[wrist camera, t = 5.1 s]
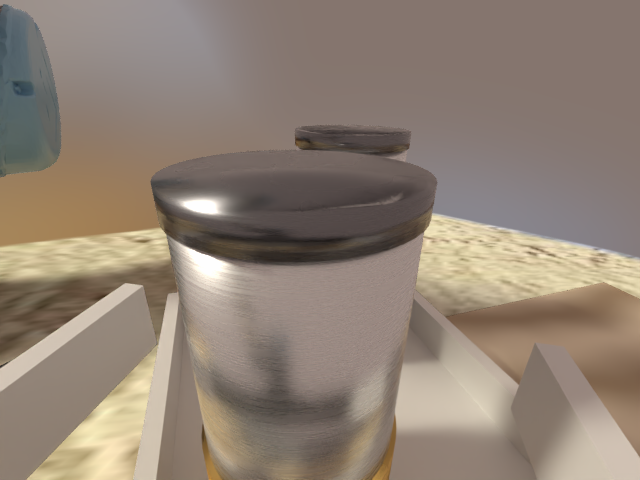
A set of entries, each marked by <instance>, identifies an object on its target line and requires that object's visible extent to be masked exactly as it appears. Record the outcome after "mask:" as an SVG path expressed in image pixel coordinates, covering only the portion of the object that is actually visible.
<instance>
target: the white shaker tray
mask: <svg viewBox="0 0 640 480" xmlns="http://www.w3.org/2000/svg"><path fill="white" fill-rule="evenodd" d="M518 387H519V385H518V384H517V383H516V382H515V381H514V380H513V379H512V378H511V377H510V376H508V375H507V374H506V373H505V372H504V371H503V370H502V369H501V368H500V367H499V366H498V365H497V364H495V363H494V362H493V361H492V360H491V359H490V358H489V357H488V356H487V355H486V354H485V353H484V352H482V351H481V350H480V349H479V348H478V347H477V346H476V345H475V344H474V343H473V342H472V341H471V340H469V339H468V338H467V337H466V336H465V335H464V334H463V333H462V332H461V331H460V330H459V329H458V328H456V327H455V326H454V325H453V324H452V323H451V322H450V321H449V320H448V319H447V318H446V317H445V316H443V315H442V314H441V313H440V312H439V311H438V310H437V309H436V308H435V307H434V306H433V305H432V304H430V303H429V302H428V301H427V300H426V299H425V298H424V297H423V296H422V295H421V294H420V293H419V292H417V291H416V290H415V291H414V297H413V304H412V310H411V316H410V322H409V328H408V335H407V341H406V347H405V353H404V360H403V366H402V372H401V378H400V384H399V391H398V397H397V403H396V409H395V416H396V441H395V447H394V453H393V459H392V465H391V471H390V476H389V480H537V478H536V475H535V472H534V470H533V467H532V464H531V462H530V459H529V456H528V453H527V451H526V448H525V445H524V443H523V440H522V437H521V435H520V432H519V429H518V427H517V424H516V421H515V419H514V416H513V413H512V411H511V406H512V403H513V400H514V397H515V395H516V392H517V389H518ZM202 424H203V420H202V415H201V410H200V404H199V399H198V394H197V389H196V384H195V379H194V374H193V368H192V363H191V358H190V353H189V348H188V343H187V337H186V332H185V327H184V322H183V317H182V312H181V307H180V301H179V296H178V292H176V293H170V294H168V296H167V302H166V307H165V312H164V318H163V323H162V328H161V334H160V339H159V344H158V350H157V355H156V361H155V366H154V371H153V377H152V382H151V387H150V393H149V398H148V403H147V409H146V414H145V419H144V425H143V430H142V436H141V441H140V446H139V452H138V457H137V462H136V468H135V473H134V478H133V480H209V478H208V474H207V469H206V464H205V459H204V454H203V449H202Z"/></svg>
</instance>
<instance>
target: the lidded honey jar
mask: <svg viewBox="0 0 640 480" xmlns="http://www.w3.org/2000/svg"><path fill="white" fill-rule="evenodd" d="M151 186H152V191H153V196H154V201H155V206H156V211H157V216H158V221H159V224H160V227H161V228H162V230H163V231H164V232H165V233H166V234H167V239H168V245H169V250H170V255H171V260H172V265H173V270H174V276H175V281H176V286H177V291H178V296H179V301H180V307H181V312H182V317H183V322H184V327H185V332H186V337H187V343H188V348H189V353H190V358H191V363H192V368H193V374H194V379H195V384H196V389H197V394H198V399H199V404H200V410H201V415H202V420H203V424H202V449H203V454H204V459H205V464H206V469H207V474H208V478H209V480H389V476H390V471H391V465H392V459H393V453H394V447H395V441H396V416H395V409H396V403H397V397H398V391H399V384H400V378H401V372H402V366H403V360H404V353H405V347H406V341H407V335H408V328H409V322H410V316H411V310H412V304H413V297H414V291H415V285H416V279H417V273H418V266H419V260H420V254H421V248H422V242H423V235H424V231H425V230H426V229H427V227H428V226H429V224H430V221H431V216H432V210H433V204H434V198H435V193H436V186H437V180H436V178H435V176H434V175H433V174H432V173H430V172H429V171H427V170H425V169H423V168H421V167H419V166H416V165H413V164H410V163H407V162H404V161H399V160H395V159H391V158H385V157H380V156H374V155H366V154H358V153H349V152H337V151H318V150H269V151H250V152H238V153H228V154H220V155H213V156H207V157H201V158H196V159H192V160H187V161H184V162H180V163H177V164H174V165H171V166H168V167H166V168H164V169H162V170H160V171H158V172H157V173H156V174H155V175H154V176H153V177H152V179H151Z"/></svg>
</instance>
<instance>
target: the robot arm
mask: <svg viewBox="0 0 640 480" xmlns="http://www.w3.org/2000/svg"><path fill="white" fill-rule="evenodd" d="M60 149H61V122H60V113H59V105H58V98H57V93H56V87H55V82H54V77H53V73H52V68H51V64H50V60H49V56H48V53H47V50H46V46H45V43H44V40H43V37H42V35H41V32H40V30H39V28H38V26H37V24H36V23H35V22H34V20H33V18H32V17H31V16H30V15H29V14H28V13H26V12H24V11H22V10H18V9H15V8H13V7H12V6H8V5H5V4H4V5H3V6H0V177H4V176H6V175H7V174H16V173H24V172H33V171H41V170H44V169H46V168H48V167H50V166H51V165H52V164H54V163H55V162H56V161H57V159H58V157H59V154H60ZM156 345H157V340H156V336H155V332H154V328H153V323H152V319H151V315H150V311H149V307H148V303H147V299H146V295H145V291H144V286H143V285H136V284H129V283H125V284H123V285H122V286H120V287H119V288H117V289H116V290H114V291H113V292H111V293H110V294H109V295H107V296H106V297H104V298H103V299H101V300H100V301H98V302H97V303H95V304H94V305H92V306H91V307H89V308H88V309H87V310H85V311H84V312H82V313H81V314H79V315H78V316H76V317H75V318H73V319H72V320H70V321H69V322H68V323H66V324H65V325H63V326H62V327H60V328H59V329H57V330H56V331H54V332H53V333H51V334H50V335H49V336H47V337H46V338H44V339H43V340H41V341H40V342H38V343H37V344H35V345H34V346H32V347H31V348H30V349H28V350H27V351H25V352H24V353H22V354H21V355H19V356H18V357H16V358H15V359H13V360H11V361H9V362H7V363H5V364H3V365H1V366H0V480H26V479H27V478H28V477H29V476H30V475H31V474H32V473H33V472H34V471H35V470H36V469H37V468H38V467H39V466H40V465H41V464H42V463H43V462H44V461H45V460H46V459H47V457H48V456H49V455H50V454H51V453H52V452H53V451H54V450H55V449H56V448H57V447H58V446H59V445H60V444H61V443H62V442H63V441H64V440H65V439H66V438H67V437H68V436H69V435H70V434H71V433H72V432H73V431H74V430H75V429H76V428H77V426H78V425H79V424H80V423H81V422H82V421H83V420H84V419H85V418H86V417H87V416H88V415H89V414H90V413H91V412H92V411H93V410H94V409H95V408H96V407H97V406H98V405H99V404H100V403H101V402H102V401H103V400H104V399H105V398H106V397H107V396H108V394H109V393H110V392H111V391H112V390H113V389H114V388H115V387H116V386H117V385H118V384H119V383H120V382H121V381H122V380H123V379H124V378H125V377H126V376H127V375H128V374H129V373H130V372H131V371H132V370H133V369H134V368H135V367H136V366H137V365H138V363H139V362H140V361H141V360H142V359H143V358H144V357H145V356H146V355H147V354H148V353H149V352H150V351H151V350H152V349H153V348H154V347H155V346H156ZM511 411H512V413H513V416H514V419H515V421H516V424H517V427H518V429H519V432H520V435H521V437H522V440H523V443H524V445H525V448H526V451H527V453H528V456H529V459H530V462H531V464H532V467H533V470H534V472H535V475H536V478H537V480H640V457H639V456H638V454H637V453H636V451H635V450H634V448H633V447H632V445H631V444H630V443H629V441H628V440H627V438H626V437H625V435H624V434H623V432H622V431H621V429H620V428H619V426H618V425H617V423H616V422H615V420H614V419H613V418H612V416H611V415H610V413H609V412H608V410H607V409H606V407H605V406H604V404H603V403H602V401H601V400H600V398H599V397H598V396H597V394H596V393H595V391H594V390H593V388H592V387H591V385H590V384H589V382H588V381H587V379H586V378H585V376H584V375H583V374H582V372H581V371H580V369H579V368H578V366H577V365H576V363H575V362H574V360H573V359H572V357H571V356H570V354H569V353H568V352H567V350H566V349H565V347H563V346H556V345H549V344H542V343H536V342H535V344H534V346H533V349H532V352H531V354H530V357H529V360H528V363H527V365H526V368H525V371H524V373H523V376H522V379H521V381H520V384H519V387H518V389H517V392H516V395H515V397H514V400H513V403H512V406H511Z"/></svg>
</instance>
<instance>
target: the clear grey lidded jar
mask: <svg viewBox="0 0 640 480" xmlns="http://www.w3.org/2000/svg"><path fill="white" fill-rule="evenodd" d="M410 138H411V131H409V130H406V129H400V128H392V127H381V126H363V125H315V126H303V127H298V128H295V145H296V146H297V150H318V151H337V152H349V153H358V154H366V155H374V156H380V157H385V158H391V159H395V160H399V161H404V162H406V155H407V150H408V149H409V146H410Z"/></svg>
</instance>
